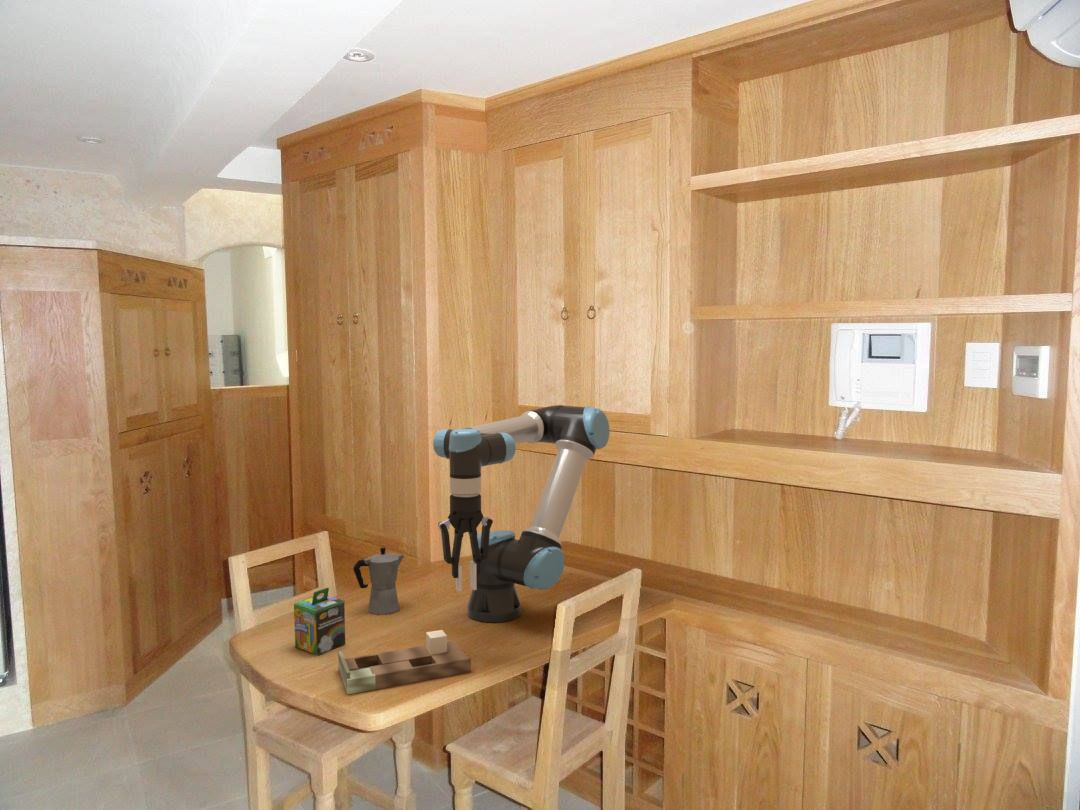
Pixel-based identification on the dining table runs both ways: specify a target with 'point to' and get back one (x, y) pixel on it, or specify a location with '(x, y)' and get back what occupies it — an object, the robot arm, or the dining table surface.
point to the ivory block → (436, 642)
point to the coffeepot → (381, 581)
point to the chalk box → (319, 623)
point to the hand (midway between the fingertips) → (466, 589)
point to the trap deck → (400, 667)
